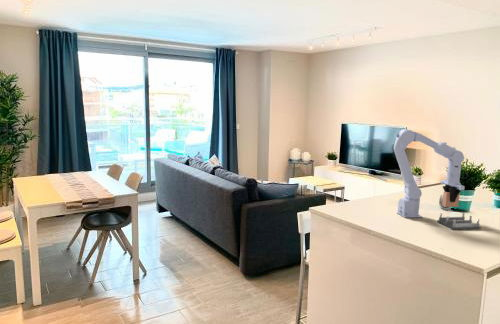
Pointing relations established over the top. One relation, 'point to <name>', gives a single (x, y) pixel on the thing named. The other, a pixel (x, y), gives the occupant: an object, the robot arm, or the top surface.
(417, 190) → the robot arm
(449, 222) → the pegged metal rack
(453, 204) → the peach brick
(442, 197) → the ceramic mug
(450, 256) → the top surface
